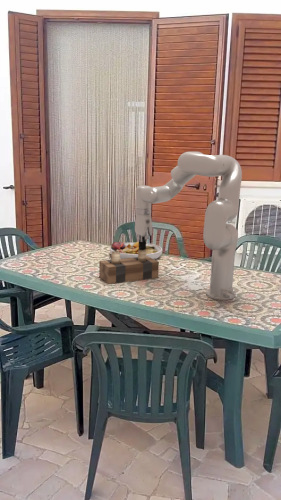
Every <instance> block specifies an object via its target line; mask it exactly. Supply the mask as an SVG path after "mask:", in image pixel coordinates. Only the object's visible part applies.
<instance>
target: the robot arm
mask: <svg viewBox="0 0 281 500" xmlns="http://www.w3.org/2000/svg"><path fill="white" fill-rule="evenodd" d="M170 176H171V179H170V180H169V181H168V182H166V183H165V184H164V185H161V186H160V185H159V186H150V185H137V186H136V188H135V213H134V214H135V222H134V232H135V233H136V236H137V239H138V242H139V249H140V250H145V249H146V243H147V241H148V240H149V239H150V237H151V236H152V235H153V219H152V204H160V203H165V202H166V203H167V202H169V201H171V200H172V199H173V198H175V197H176V196H177V195H178V194H179V193H180V192H181V191H182V190H183V188H184V186H185V185H186V184H187V183H188V182H189V181H191V180H192V179H193V178H194V177H195V176H201V177H209V178H213V177H221V178H222V179H221V182H220V184H219V189H218V196H217V197H218V198H217V199H216V200H215V199H214V200H213V201H211V202H210V203H209V204H208V205H207V207H206V209H205V212H204V213H205V214H204V222H203V223H204V225H203V235H202V237H203V238H202V239H203V242H204V245H205V246H206V247H207V249H209V250H212V254H211V266H210V281H209V289H207V290H206V292H205V294H206V297H208V298H210V299H212V300H217V301H228V300H229V301H231V300H234V298H236V296H237V293H236V292H234V287H233V283H234V282H233V281H234V270H235V269H234V268H235V257H236V250H237V249H236V248H237V245H238V239H239V233H238V232H239V231H238V230H237V228H236V227H235V225H233V224H231V223H227V222H230V221H233V220H234V219H236V217H237V216H238V213H239V206H240V205H239V203H240V196H241V185H242V180H243V179H242V177H243V172H242V167H241V164H240V163H239V162H238V160H237V159H235V158H234V157H233V156H230V155H227V154H218V155H217V154H215V155H214V154H213V155H212V154H211V155H209V154H204V153H203V152H201V151H185V152H183V153H181V154H180V156H179V157H178V160H177V165H176V166H175V167H173V169H171V171H170Z"/></svg>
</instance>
